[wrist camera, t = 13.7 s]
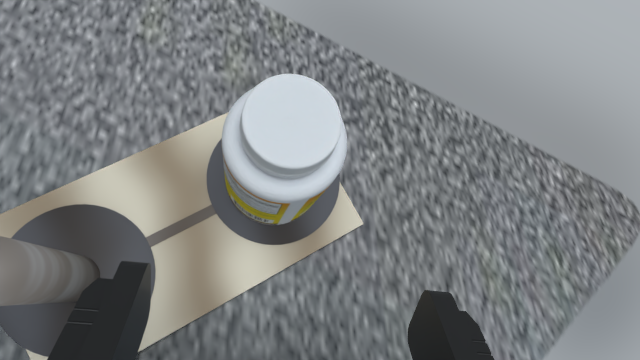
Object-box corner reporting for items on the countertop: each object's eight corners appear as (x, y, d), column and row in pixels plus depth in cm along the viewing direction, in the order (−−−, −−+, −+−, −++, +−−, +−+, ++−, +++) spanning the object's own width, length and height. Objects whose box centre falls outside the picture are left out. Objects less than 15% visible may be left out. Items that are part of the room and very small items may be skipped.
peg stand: (46, 404, 24) (-81, 480, 14) (-32, 233, 25) (-197, 197, 15) (366, 221, 29) (432, 187, 20) (290, 89, 30) (317, -5, 21)
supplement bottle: (311, 133, 29) (351, 51, 19) (323, 221, 28) (373, 182, 18) (220, 140, 28) (213, 56, 18) (229, 232, 26) (227, 196, 17)
